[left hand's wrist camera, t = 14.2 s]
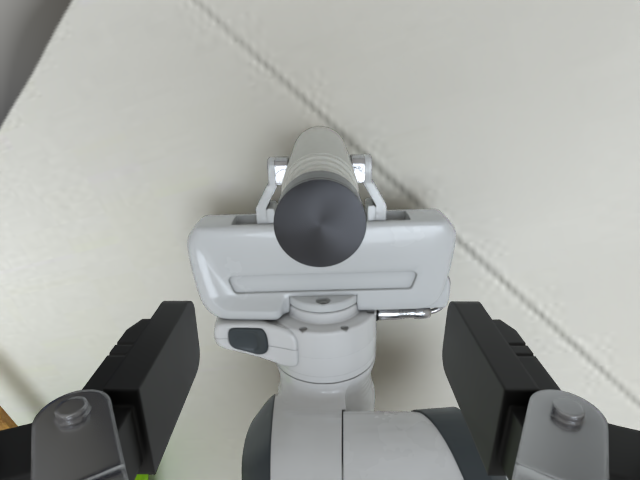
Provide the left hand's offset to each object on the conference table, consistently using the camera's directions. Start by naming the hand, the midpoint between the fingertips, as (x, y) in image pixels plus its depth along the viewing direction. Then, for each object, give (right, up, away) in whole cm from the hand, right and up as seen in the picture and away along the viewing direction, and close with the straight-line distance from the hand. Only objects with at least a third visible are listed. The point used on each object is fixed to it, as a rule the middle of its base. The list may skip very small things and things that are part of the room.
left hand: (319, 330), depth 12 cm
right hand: (0, +9, +19) cm, 21 cm away
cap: (0, +3, +8) cm, 9 cm away
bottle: (0, +10, +26) cm, 27 cm away
